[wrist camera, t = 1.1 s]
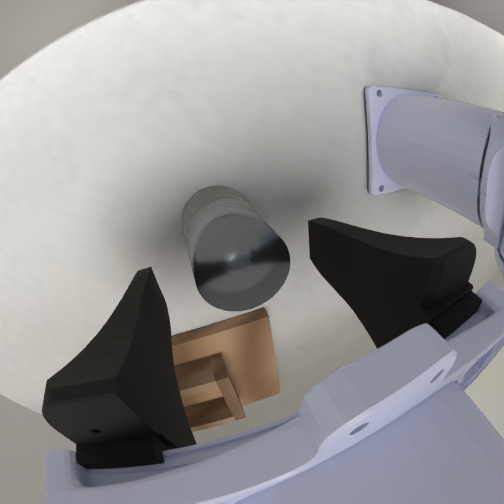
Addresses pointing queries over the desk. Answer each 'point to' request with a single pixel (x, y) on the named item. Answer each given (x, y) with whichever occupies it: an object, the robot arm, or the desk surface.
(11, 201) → the desk surface
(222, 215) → the pin
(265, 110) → the desk surface
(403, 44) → the desk surface
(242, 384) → the socket board
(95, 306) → the desk surface
